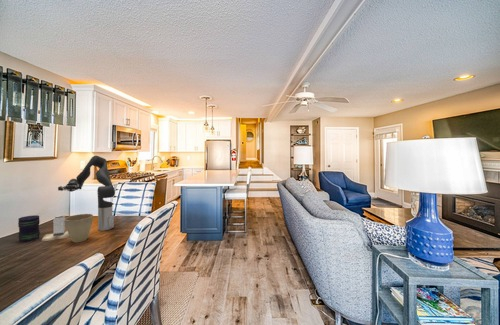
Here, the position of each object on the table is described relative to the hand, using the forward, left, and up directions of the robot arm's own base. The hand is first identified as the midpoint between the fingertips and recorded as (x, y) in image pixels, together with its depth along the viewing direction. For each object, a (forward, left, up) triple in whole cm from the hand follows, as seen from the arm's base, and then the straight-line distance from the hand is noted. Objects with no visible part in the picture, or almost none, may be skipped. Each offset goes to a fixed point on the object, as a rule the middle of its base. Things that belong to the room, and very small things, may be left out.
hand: (68, 189), depth 164 cm
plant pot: (-27, +26, -30) cm, 48 cm away
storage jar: (+6, +24, -30) cm, 39 cm away
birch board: (-9, +19, -30) cm, 37 cm away
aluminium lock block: (-9, +19, -28) cm, 36 cm away
